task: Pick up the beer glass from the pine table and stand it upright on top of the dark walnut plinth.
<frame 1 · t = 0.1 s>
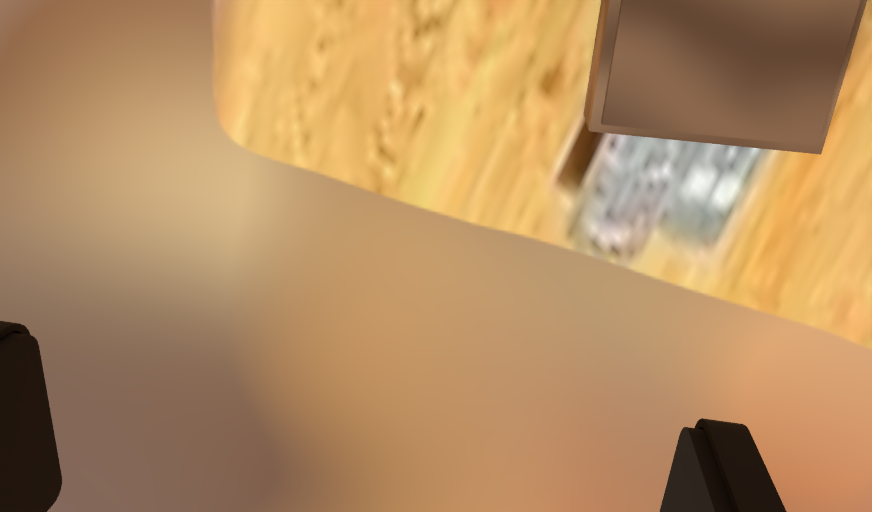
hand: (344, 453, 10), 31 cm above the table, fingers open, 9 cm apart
plinth: (708, 17, 35), on the table
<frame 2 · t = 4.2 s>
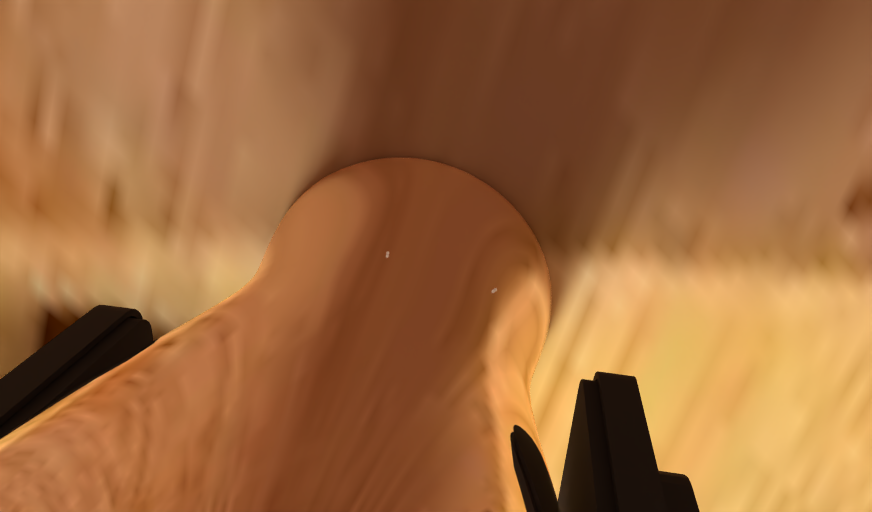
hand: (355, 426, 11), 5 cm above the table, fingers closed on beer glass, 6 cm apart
beer glass: (409, 289, 15), on the table, touching gripper
when the fingers open (10 cm above the table, at t = 10.1 s): beer glass stays where it is, resting on plinth.
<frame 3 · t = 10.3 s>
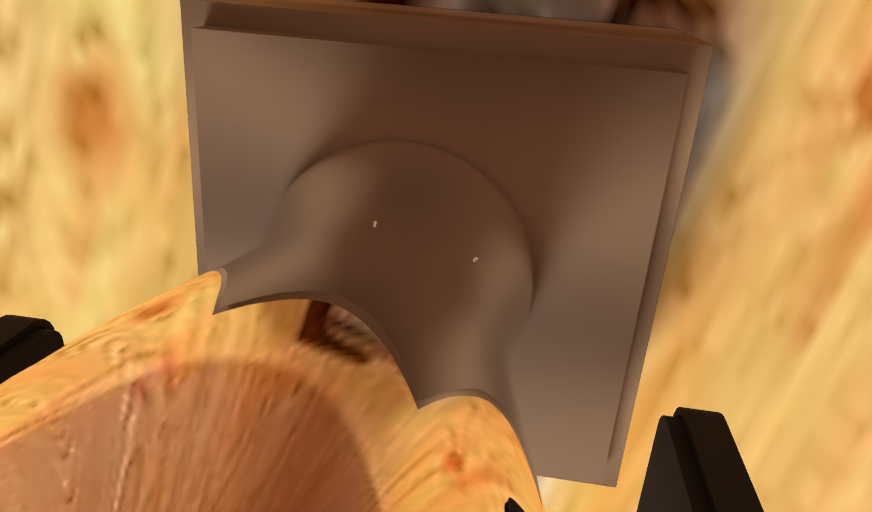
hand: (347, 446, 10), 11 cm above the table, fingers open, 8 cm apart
beer glass: (400, 267, 16), point 5 cm above the table, touching plinth
plinth: (443, 208, 20), on the table
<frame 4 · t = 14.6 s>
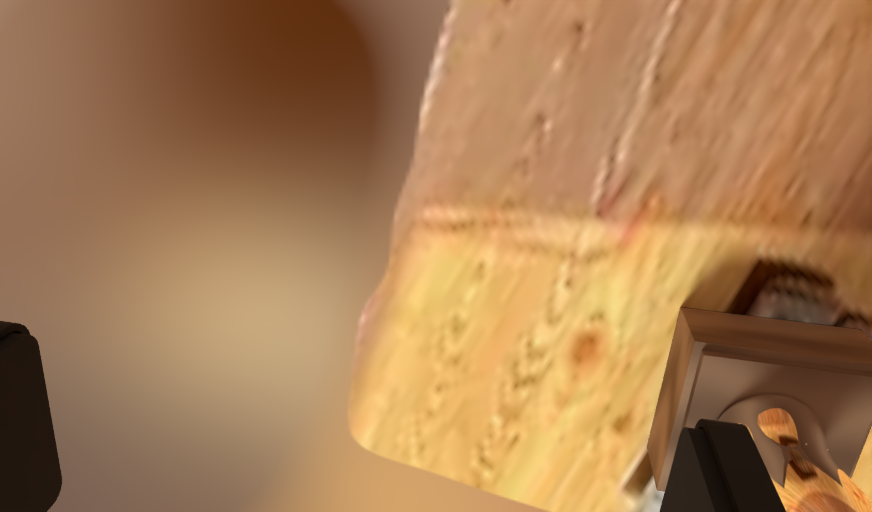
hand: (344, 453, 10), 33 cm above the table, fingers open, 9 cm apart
beer glass: (763, 434, 41), point 5 cm above the table, touching plinth
plinth: (747, 391, 46), on the table
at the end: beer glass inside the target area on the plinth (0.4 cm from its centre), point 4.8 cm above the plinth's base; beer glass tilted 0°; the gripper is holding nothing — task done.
